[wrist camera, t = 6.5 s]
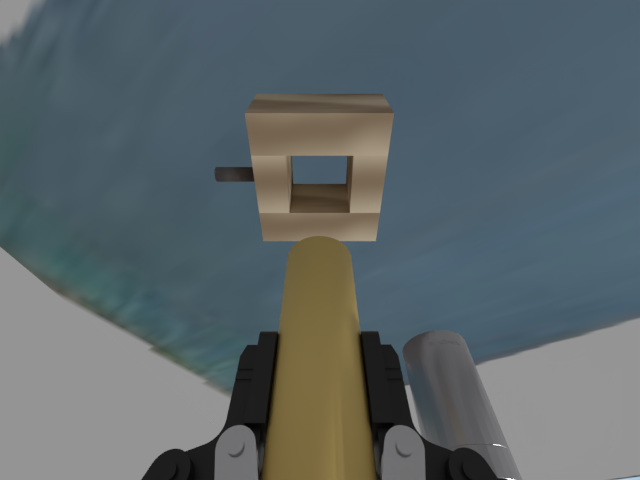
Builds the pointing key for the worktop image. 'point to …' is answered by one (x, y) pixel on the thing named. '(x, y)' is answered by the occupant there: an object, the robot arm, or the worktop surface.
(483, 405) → the robot arm
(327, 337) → the peg
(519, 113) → the worktop surface
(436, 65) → the worktop surface
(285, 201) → the socket mount
